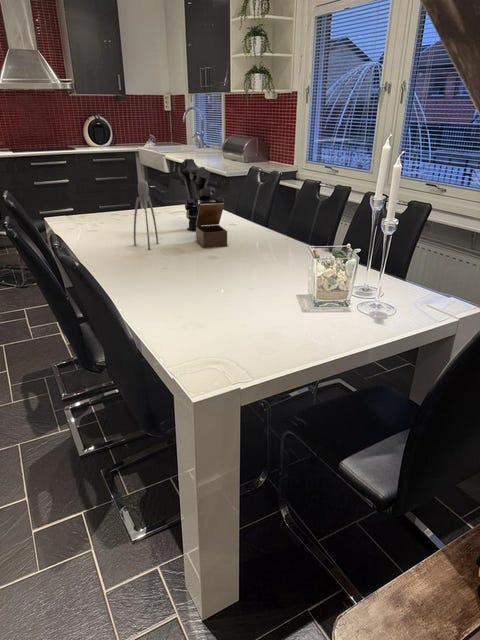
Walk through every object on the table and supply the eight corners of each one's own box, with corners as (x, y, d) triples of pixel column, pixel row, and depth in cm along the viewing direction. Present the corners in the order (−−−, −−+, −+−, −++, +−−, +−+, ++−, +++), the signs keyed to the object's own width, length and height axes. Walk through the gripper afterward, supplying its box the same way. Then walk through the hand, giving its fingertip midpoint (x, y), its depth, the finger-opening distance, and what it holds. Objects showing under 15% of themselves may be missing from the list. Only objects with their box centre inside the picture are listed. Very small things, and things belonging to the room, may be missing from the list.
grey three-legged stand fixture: (149, 249, 213) (144, 182, 201) (129, 248, 215) (123, 181, 203) (158, 243, 223) (154, 178, 211) (139, 242, 225) (133, 177, 213)
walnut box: (227, 246, 220) (227, 231, 217) (203, 248, 217) (203, 232, 214) (218, 239, 232) (218, 224, 229) (196, 241, 228) (195, 226, 226)
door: (224, 204, 216) (224, 202, 217) (200, 205, 213) (199, 203, 213) (219, 224, 229) (218, 223, 229) (196, 226, 225) (195, 224, 226)
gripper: (185, 181, 219) (191, 209, 214) (223, 180, 224) (230, 207, 219) (182, 196, 229) (188, 223, 224) (218, 194, 234) (225, 220, 229)
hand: (208, 218), depth 224 cm, fingers closed, pressing on door
